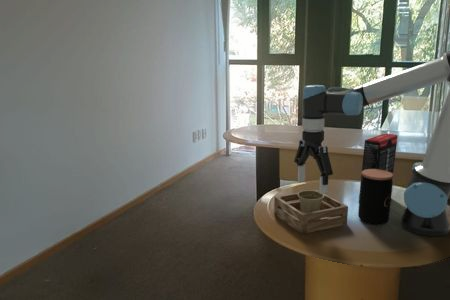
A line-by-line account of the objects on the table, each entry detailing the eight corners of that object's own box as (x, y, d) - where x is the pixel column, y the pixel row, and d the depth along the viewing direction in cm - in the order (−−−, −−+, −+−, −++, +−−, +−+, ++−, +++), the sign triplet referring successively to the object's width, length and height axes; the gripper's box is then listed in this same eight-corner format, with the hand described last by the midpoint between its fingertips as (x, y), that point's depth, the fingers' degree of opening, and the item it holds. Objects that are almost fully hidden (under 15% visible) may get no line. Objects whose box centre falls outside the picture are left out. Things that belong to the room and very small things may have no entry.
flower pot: (294, 220, 143) (295, 197, 141) (298, 210, 152) (299, 189, 150) (321, 223, 141) (322, 200, 138) (323, 213, 149) (325, 191, 147)
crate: (346, 224, 142) (348, 206, 140) (301, 234, 135) (302, 215, 133) (315, 206, 159) (316, 189, 157) (274, 213, 152) (274, 196, 150)
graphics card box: (376, 193, 171) (381, 132, 165) (392, 197, 167) (398, 134, 160) (357, 204, 160) (362, 139, 153) (374, 209, 155) (380, 141, 148)
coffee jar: (387, 228, 139) (392, 179, 134) (356, 223, 143) (359, 175, 138) (389, 216, 148) (394, 170, 143) (359, 212, 152) (363, 167, 148)
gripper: (345, 134, 129) (342, 196, 133) (302, 123, 151) (301, 176, 156) (326, 137, 126) (324, 200, 131) (285, 125, 148) (285, 179, 153)
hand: (311, 187), depth 143 cm, fingers open, 13 cm apart
